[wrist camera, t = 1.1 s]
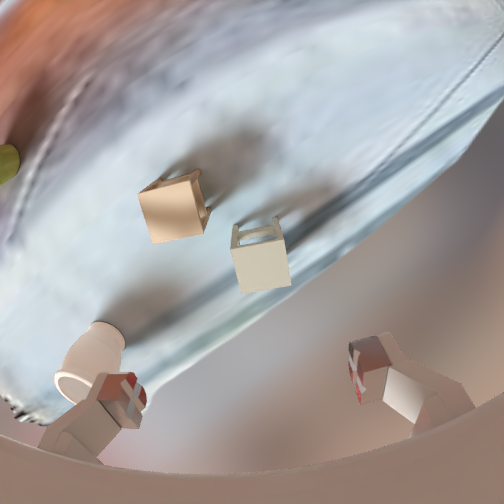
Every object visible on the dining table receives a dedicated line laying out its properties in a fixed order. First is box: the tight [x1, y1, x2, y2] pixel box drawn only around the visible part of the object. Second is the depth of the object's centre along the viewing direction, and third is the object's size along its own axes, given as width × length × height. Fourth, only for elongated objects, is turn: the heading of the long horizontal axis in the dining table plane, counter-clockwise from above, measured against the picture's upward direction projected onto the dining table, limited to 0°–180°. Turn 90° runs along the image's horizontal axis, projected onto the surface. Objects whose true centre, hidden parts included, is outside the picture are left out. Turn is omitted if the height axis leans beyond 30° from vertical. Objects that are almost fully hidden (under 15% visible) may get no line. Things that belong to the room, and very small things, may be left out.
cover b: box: [230, 217, 291, 294], centre depth 40 cm, size 6×6×8 cm
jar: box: [54, 322, 125, 405], centre depth 45 cm, size 11×10×15 cm
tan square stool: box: [137, 169, 211, 244], centre depth 36 cm, size 6×6×8 cm
